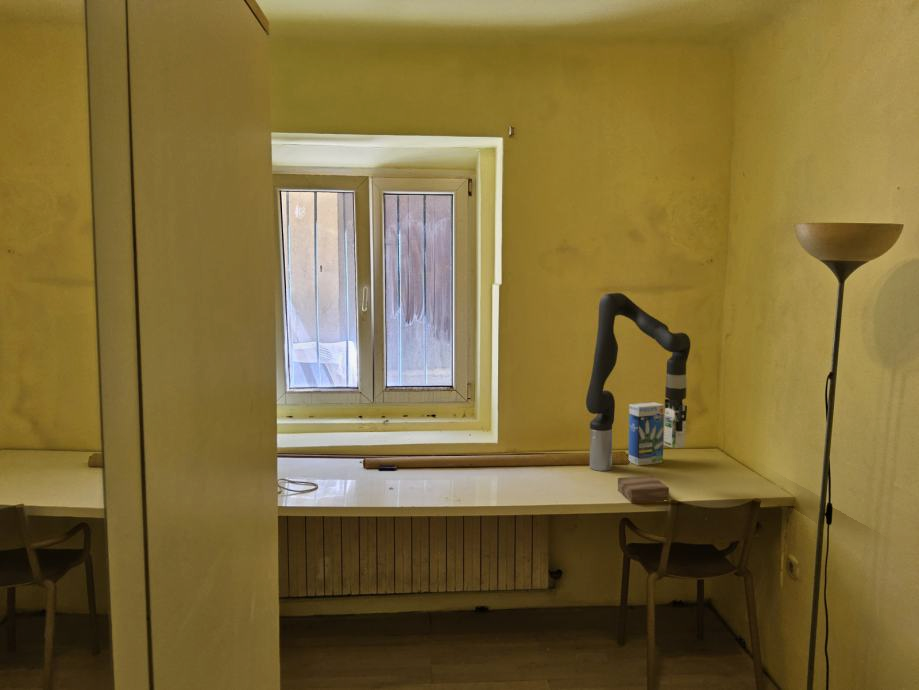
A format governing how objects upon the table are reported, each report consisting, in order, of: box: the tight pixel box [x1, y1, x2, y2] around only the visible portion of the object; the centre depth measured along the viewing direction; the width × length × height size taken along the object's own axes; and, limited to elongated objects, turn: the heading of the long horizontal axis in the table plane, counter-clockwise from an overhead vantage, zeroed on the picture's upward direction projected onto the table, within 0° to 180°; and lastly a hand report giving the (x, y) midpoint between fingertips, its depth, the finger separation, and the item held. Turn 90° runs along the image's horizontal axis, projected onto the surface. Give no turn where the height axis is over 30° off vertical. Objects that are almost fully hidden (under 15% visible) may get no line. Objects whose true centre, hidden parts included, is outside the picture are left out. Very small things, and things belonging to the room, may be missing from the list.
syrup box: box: [663, 407, 687, 449], centre depth 246 cm, size 6×6×14 cm
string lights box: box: [628, 401, 665, 466], centre depth 283 cm, size 13×8×26 cm, turn 109°
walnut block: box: [617, 475, 670, 504], centre depth 241 cm, size 14×14×5 cm
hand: (674, 428), depth 246 cm, fingers closed on syrup box, 6 cm apart
